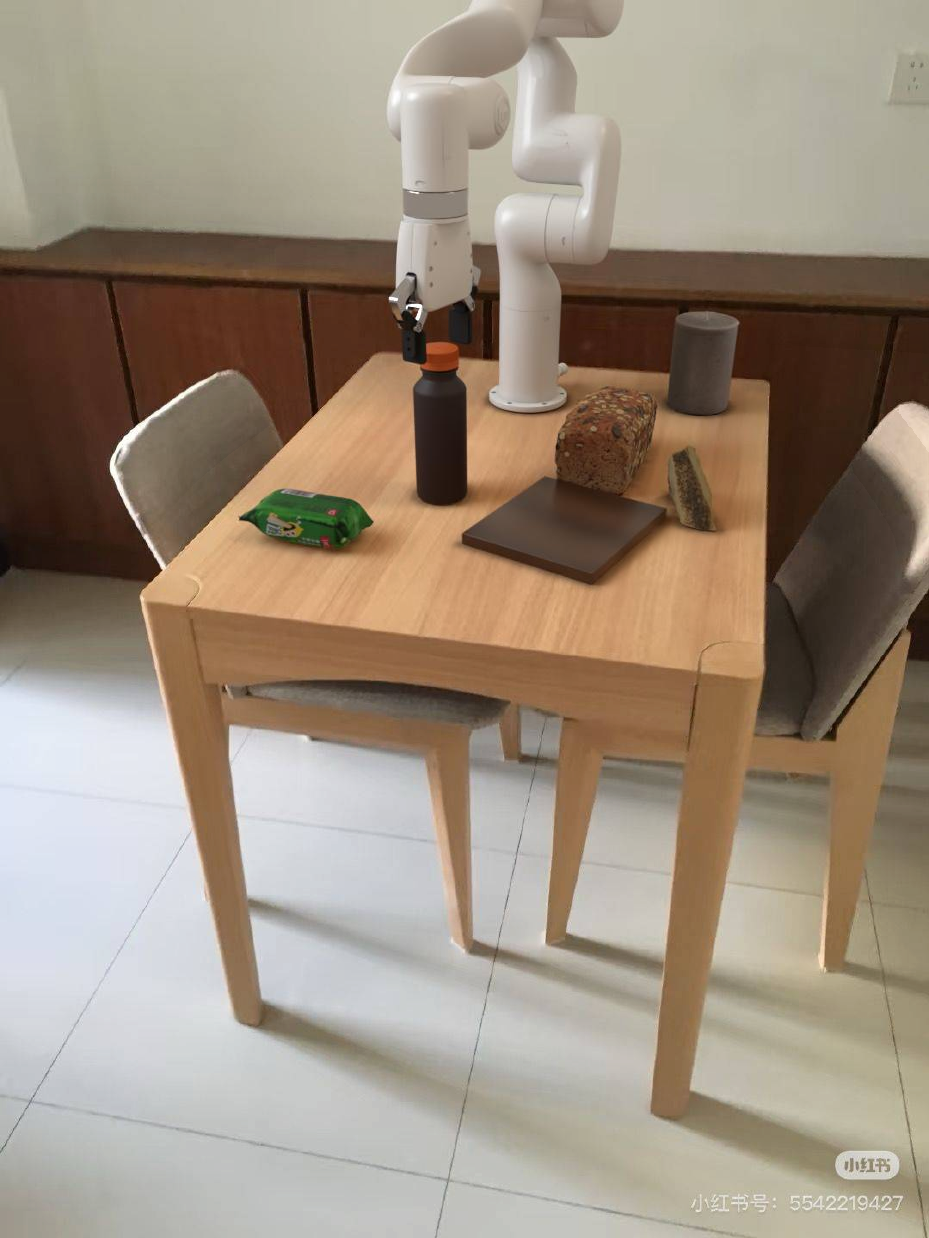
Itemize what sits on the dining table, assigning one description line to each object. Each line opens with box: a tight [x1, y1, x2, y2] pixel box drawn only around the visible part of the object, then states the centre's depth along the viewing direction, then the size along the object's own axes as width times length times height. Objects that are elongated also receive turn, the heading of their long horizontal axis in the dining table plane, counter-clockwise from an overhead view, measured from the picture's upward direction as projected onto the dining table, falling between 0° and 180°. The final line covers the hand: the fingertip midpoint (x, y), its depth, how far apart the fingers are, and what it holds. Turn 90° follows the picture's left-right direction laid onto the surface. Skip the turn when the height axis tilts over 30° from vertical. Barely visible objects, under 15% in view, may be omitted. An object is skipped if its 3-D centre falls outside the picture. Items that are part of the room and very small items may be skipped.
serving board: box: [461, 475, 668, 585], centre depth 128 cm, size 20×18×2 cm
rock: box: [667, 444, 718, 532], centre depth 131 cm, size 11×9×10 cm
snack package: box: [237, 488, 375, 550], centre depth 126 cm, size 7×16×5 cm, turn 70°
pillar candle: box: [666, 310, 740, 416], centre depth 161 cm, size 10×10×15 cm
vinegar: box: [412, 341, 468, 506], centre depth 132 cm, size 7×7×20 cm
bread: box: [554, 386, 658, 496], centre depth 142 cm, size 19×11×10 cm, turn 159°
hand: (438, 352), depth 126 cm, fingers open, 9 cm apart
